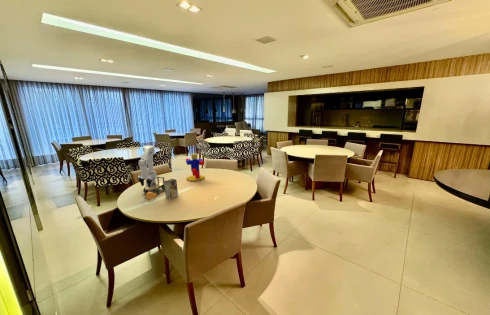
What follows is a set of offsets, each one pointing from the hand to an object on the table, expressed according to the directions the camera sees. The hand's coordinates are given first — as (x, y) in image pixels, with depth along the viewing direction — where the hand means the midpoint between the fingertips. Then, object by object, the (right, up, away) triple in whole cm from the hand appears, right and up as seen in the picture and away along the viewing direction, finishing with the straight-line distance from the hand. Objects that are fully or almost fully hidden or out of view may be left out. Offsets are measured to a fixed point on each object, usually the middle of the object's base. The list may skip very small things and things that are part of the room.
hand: (146, 186), depth 180 cm
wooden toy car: (+4, -7, +11) cm, 14 cm away
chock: (+6, -10, -2) cm, 12 cm away
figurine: (+34, +2, +48) cm, 59 cm away
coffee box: (+24, -10, 0) cm, 26 cm away
